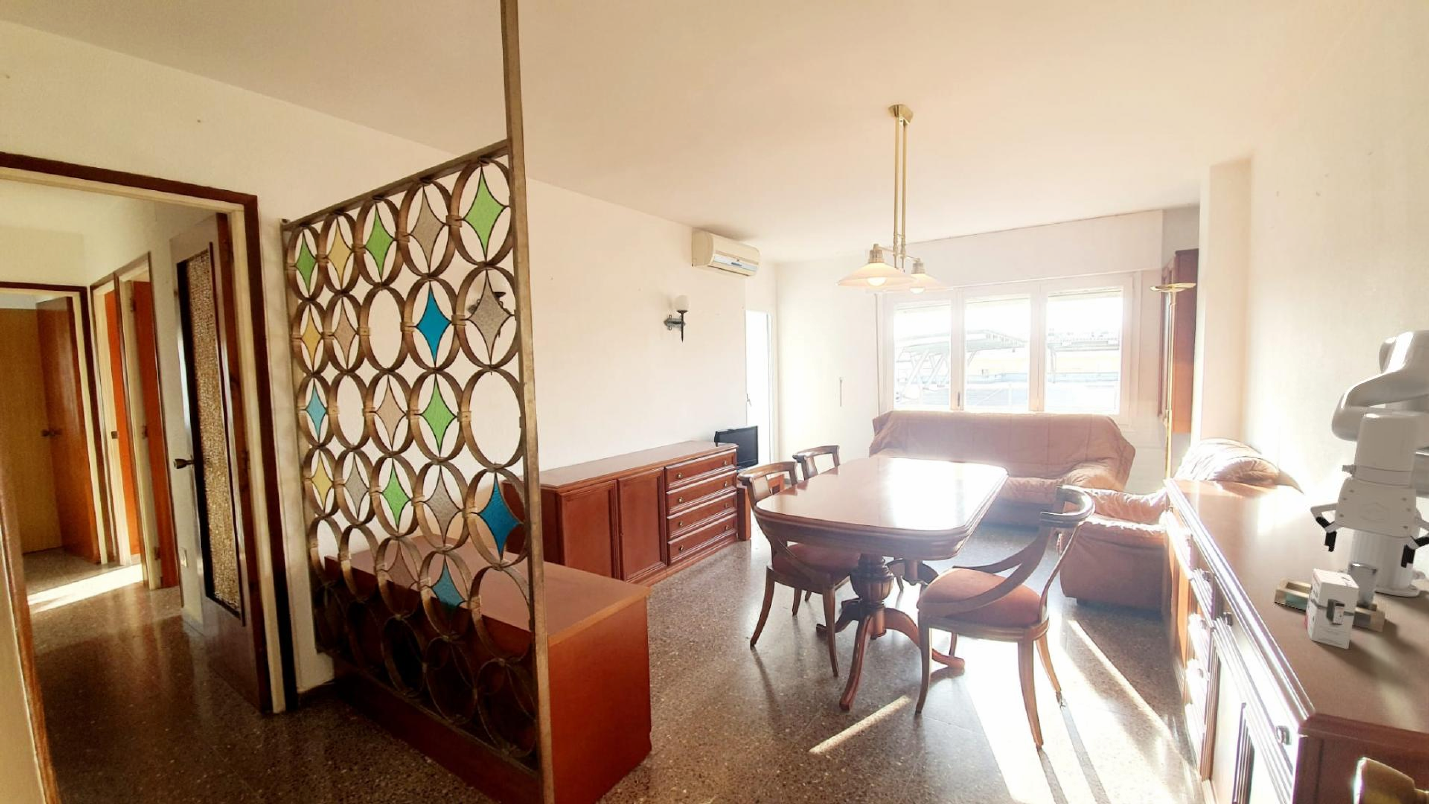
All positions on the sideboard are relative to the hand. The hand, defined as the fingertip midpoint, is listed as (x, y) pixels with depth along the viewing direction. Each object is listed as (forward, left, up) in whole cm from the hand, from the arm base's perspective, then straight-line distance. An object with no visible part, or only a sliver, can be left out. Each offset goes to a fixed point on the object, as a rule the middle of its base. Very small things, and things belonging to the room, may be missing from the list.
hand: (1366, 557), depth 114 cm
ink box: (+16, +7, -13) cm, 22 cm away
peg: (+1, 0, -13) cm, 13 cm away
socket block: (+3, -3, -13) cm, 13 cm away
